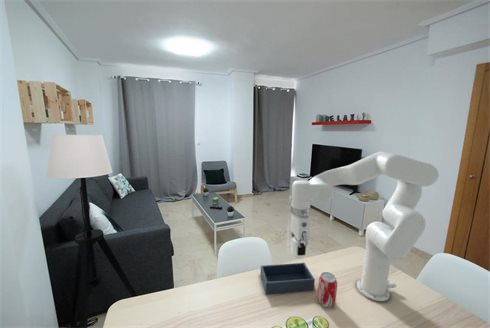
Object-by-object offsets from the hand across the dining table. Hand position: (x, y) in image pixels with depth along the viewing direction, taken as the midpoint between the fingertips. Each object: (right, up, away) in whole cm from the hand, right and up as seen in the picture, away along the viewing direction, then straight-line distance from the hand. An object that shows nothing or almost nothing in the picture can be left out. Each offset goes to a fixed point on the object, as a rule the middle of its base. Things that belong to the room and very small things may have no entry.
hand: (297, 249), depth 95 cm
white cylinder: (0, -3, +1) cm, 3 cm away
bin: (-4, -18, +7) cm, 20 cm away
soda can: (+11, -21, -3) cm, 24 cm away
